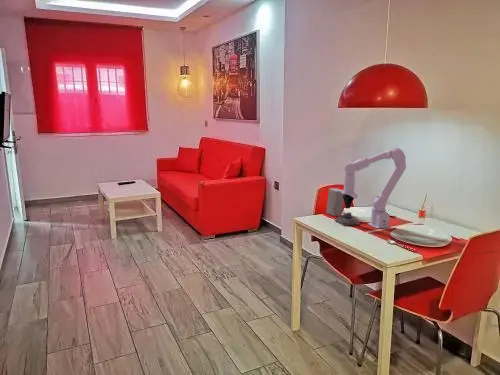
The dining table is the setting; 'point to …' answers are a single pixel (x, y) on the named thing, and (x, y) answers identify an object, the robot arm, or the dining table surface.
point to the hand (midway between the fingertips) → (347, 208)
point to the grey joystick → (347, 220)
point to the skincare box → (335, 202)
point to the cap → (346, 214)
